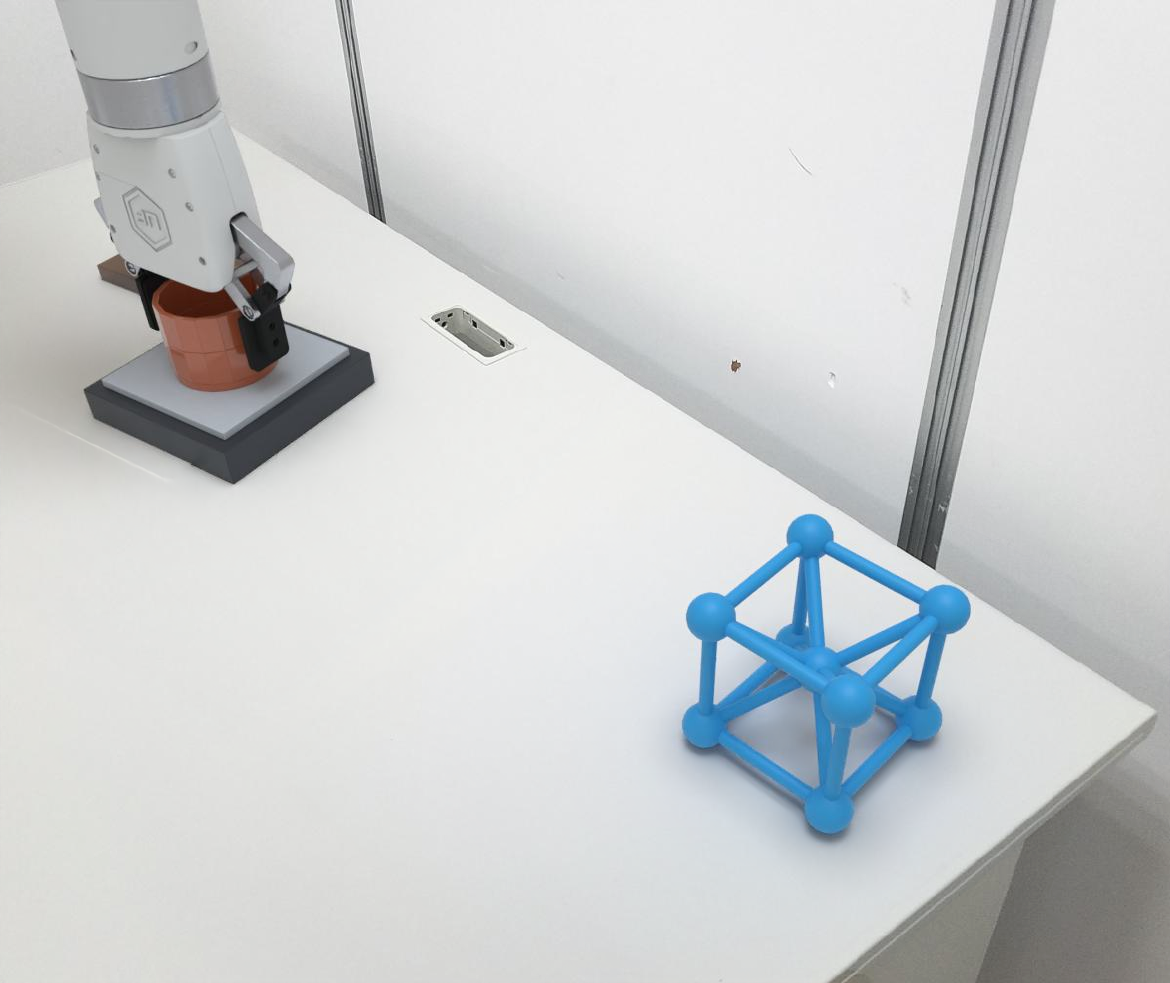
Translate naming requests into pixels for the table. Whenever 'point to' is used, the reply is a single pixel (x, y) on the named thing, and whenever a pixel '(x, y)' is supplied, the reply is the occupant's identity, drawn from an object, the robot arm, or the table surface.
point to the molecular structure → (822, 670)
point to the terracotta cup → (204, 336)
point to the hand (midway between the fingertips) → (219, 341)
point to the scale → (232, 403)
